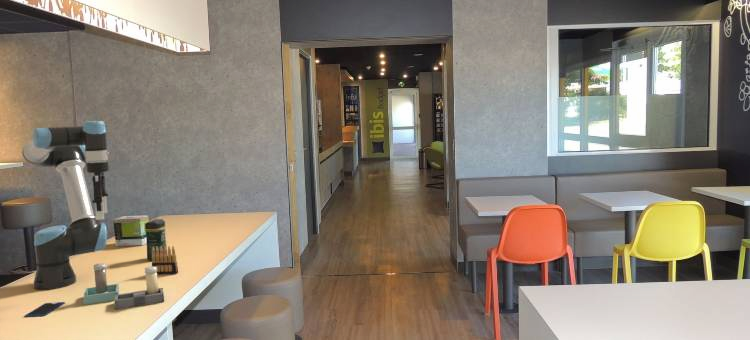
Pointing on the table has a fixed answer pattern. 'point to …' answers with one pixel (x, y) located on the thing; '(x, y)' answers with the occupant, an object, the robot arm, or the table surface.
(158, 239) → the coffee jar
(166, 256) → the ammunition clip
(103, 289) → the fuse
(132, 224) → the tea box
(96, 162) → the robot arm
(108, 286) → the parts tray
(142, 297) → the block
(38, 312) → the cell phone
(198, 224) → the table surface
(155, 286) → the white rounded cylinder
